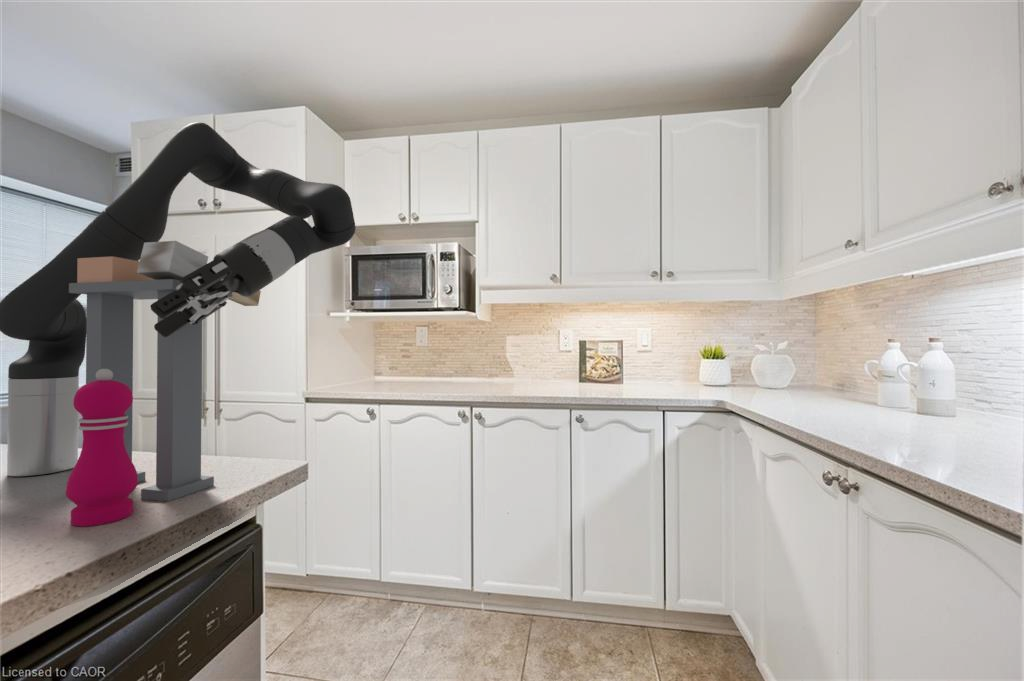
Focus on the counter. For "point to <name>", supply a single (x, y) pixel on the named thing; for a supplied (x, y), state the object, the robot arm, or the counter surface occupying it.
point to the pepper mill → (102, 454)
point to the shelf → (174, 379)
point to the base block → (108, 270)
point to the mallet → (179, 265)
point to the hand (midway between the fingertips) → (157, 322)
